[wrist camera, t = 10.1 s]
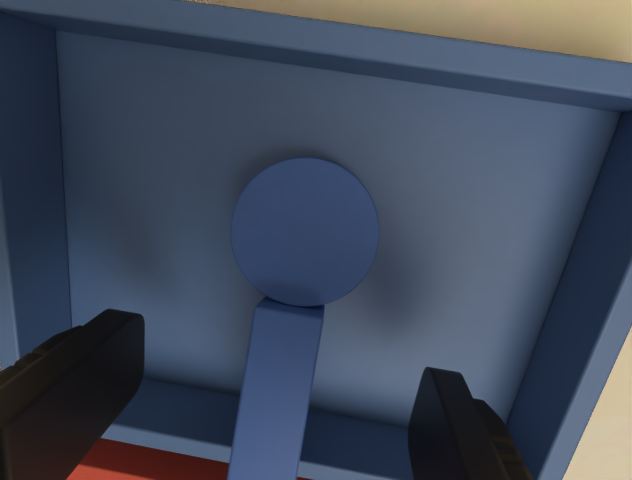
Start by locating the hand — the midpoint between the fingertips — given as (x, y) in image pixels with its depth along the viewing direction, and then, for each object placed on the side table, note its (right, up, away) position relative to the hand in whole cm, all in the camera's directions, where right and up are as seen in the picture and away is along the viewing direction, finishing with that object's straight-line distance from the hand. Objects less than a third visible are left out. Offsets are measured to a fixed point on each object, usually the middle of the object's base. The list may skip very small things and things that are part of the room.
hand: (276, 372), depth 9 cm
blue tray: (+1, +3, +2) cm, 4 cm away
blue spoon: (0, +1, +1) cm, 2 cm away
